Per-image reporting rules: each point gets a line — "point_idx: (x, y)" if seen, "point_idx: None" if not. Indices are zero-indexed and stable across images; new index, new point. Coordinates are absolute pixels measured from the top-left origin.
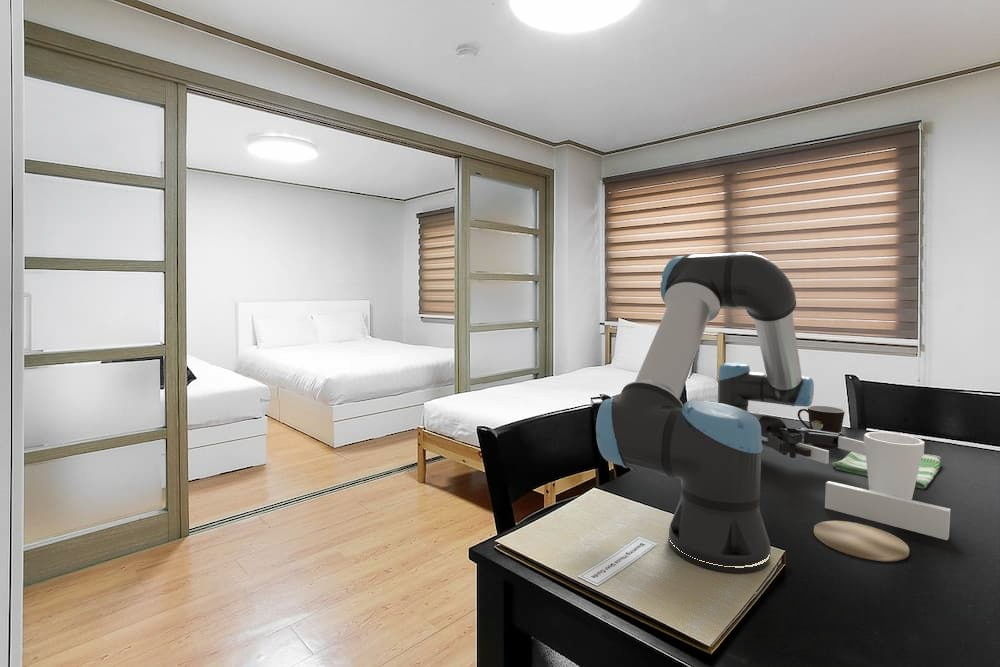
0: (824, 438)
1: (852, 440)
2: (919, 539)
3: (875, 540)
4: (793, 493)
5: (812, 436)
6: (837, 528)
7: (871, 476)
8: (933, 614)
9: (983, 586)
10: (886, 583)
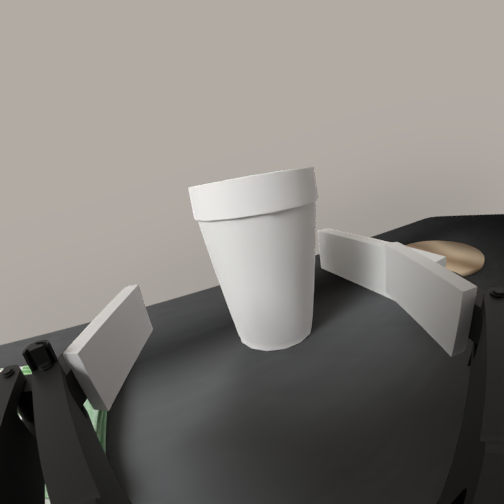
0: (84, 430)
1: (114, 315)
2: None
3: None
4: None
5: (105, 488)
6: (456, 263)
7: (313, 274)
8: (436, 224)
9: (378, 236)
10: (449, 233)
